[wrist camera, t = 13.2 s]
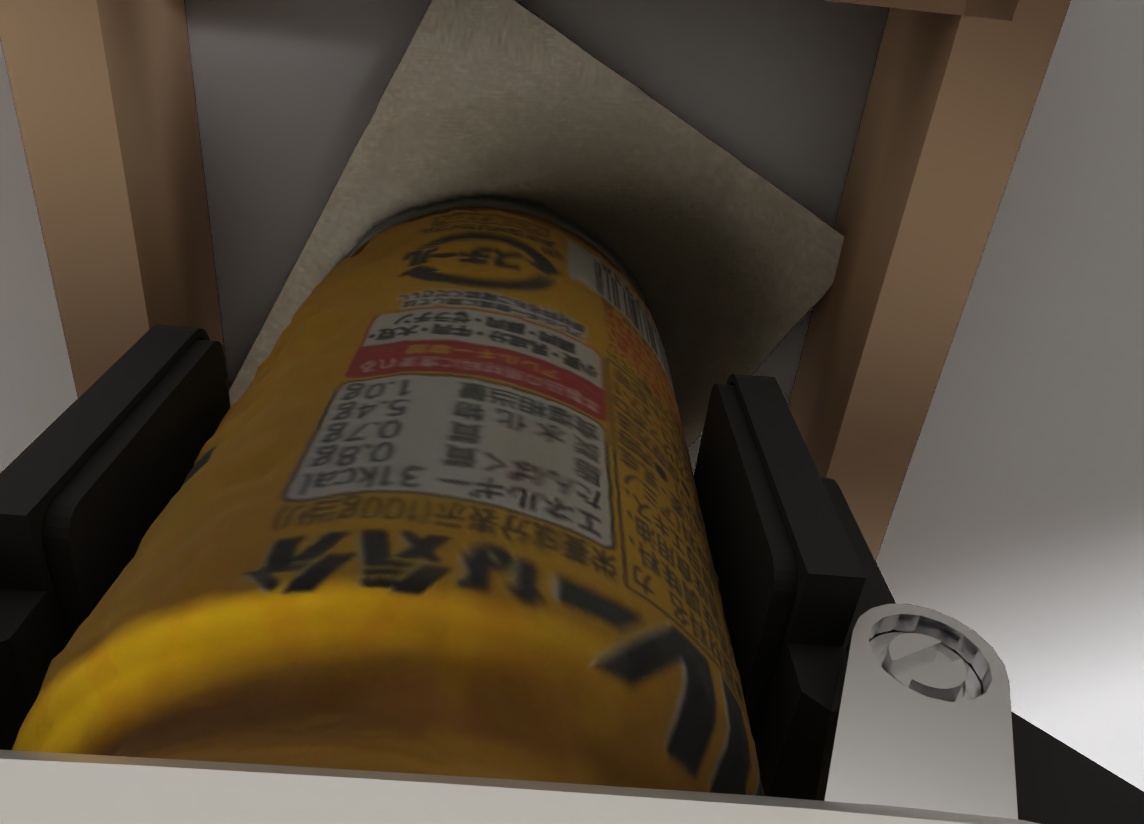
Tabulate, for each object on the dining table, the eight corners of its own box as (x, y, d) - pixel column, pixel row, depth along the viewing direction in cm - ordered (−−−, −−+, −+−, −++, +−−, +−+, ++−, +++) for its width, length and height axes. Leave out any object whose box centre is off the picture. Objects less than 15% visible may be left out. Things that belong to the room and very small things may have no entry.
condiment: (219, 411, 15) (-552, 1500, 5) (456, -43, 12) (-510, 259, 1) (565, 585, 17) (564, 1614, 7) (855, 242, 14) (1798, 1276, 3)
